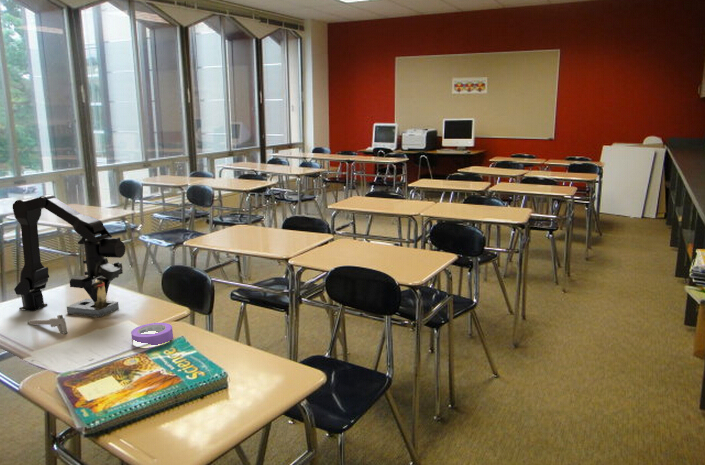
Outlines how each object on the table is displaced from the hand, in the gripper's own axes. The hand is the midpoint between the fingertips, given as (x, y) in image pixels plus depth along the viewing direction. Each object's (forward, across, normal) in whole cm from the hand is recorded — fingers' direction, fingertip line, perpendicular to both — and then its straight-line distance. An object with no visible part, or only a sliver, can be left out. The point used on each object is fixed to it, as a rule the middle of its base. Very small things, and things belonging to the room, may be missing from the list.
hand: (99, 299), depth 186 cm
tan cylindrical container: (+4, 0, 0) cm, 4 cm away
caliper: (+5, -17, +6) cm, 19 cm away
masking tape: (+5, -16, -34) cm, 38 cm away
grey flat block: (+4, 0, +3) cm, 6 cm away
